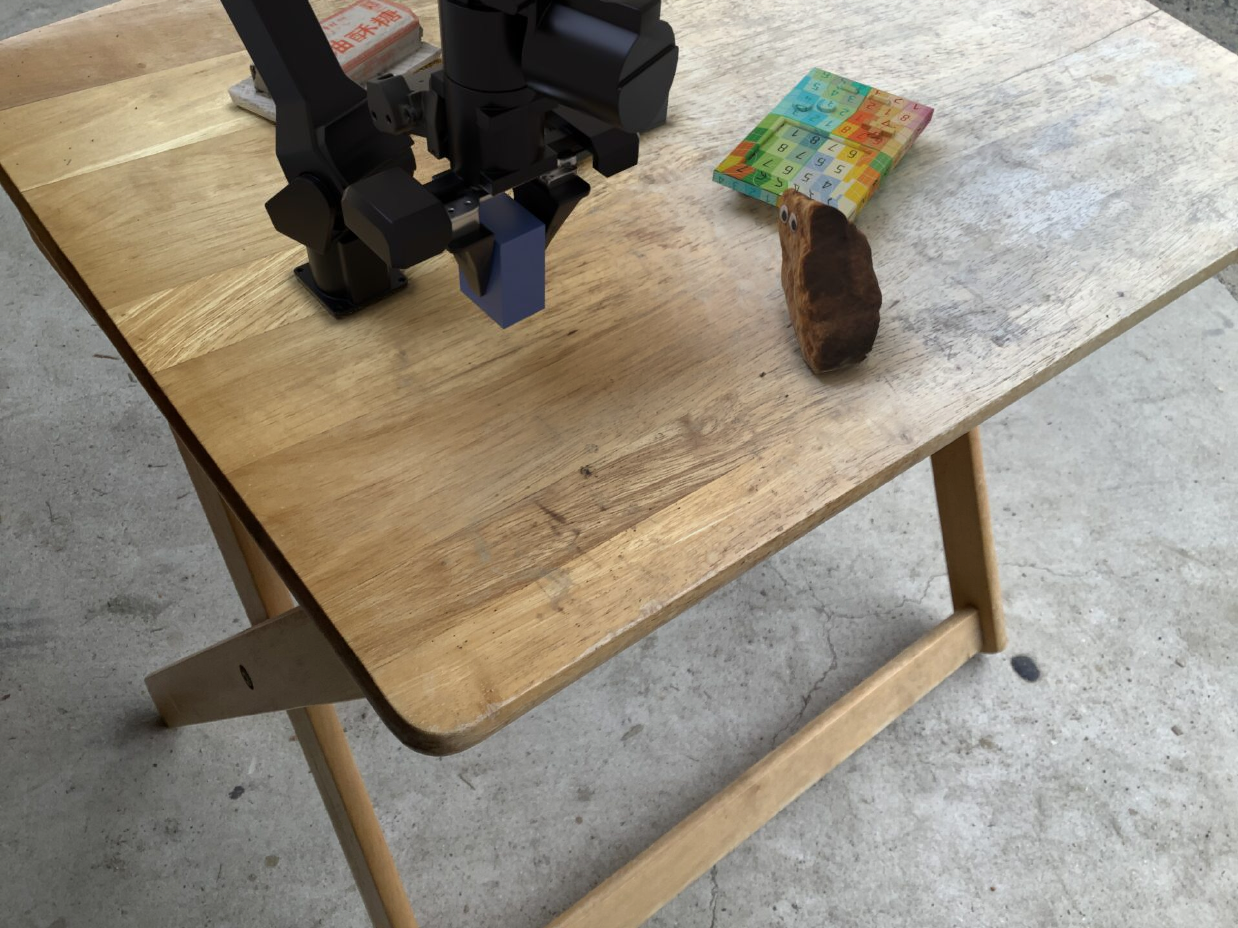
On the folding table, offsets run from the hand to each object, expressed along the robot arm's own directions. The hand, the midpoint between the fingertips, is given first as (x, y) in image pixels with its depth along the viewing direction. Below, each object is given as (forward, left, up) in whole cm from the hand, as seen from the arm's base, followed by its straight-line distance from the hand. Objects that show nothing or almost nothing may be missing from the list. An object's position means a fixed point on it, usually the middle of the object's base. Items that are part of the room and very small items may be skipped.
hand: (501, 281), depth 73 cm
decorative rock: (-11, -21, -8) cm, 25 cm away
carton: (0, 0, -2) cm, 2 cm away
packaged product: (+39, -10, -8) cm, 41 cm away
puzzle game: (+2, -36, -8) cm, 37 cm away
